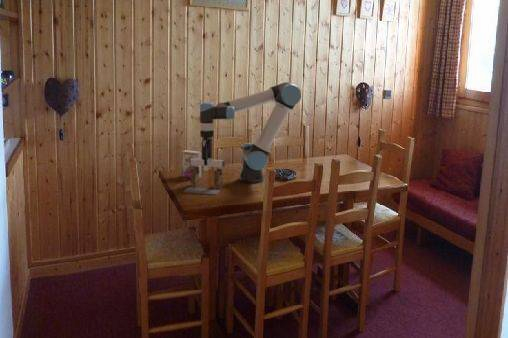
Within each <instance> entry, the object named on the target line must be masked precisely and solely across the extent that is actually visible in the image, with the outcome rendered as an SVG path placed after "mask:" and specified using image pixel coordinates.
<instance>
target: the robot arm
mask: <svg viewBox="0 0 508 338" xmlns="http://www.w3.org/2000/svg"><path fill="white" fill-rule="evenodd" d="M301 99H302V91H301V89H300V87H299V86H297V85H296V84H294V83H291V82H286V81H285V82H282V83H279V84H276V85H273V86H270V87H269V88H268V89H266V90H263V91H259V92H256V93H253V94H250V95H246V96H242V97H238V98H235V99H232V100H229V101H225V102H219V103H217V104H216V106H215V105H214V103H213V102H206V101H205V102H201V103H200V104H199V121H200V123H199V128H200V131H199V132H200V133H199V135H200V137H201V138H203V139H202V142H201V159H202V160H204V166H203V171H204V172H209V170H211V169H212V167H209V160H208V159H213V139H212V138H213V137H214V120H228V121H229V120H233V119H235V115H236V114H235V113H239V112H242V111H245V110H249V109H252V108H255V107H259V106H263V105H266V104H269V103H270V104H271V103H274V104H275V105H274V107H273V108H272V111H271V113H270V115H269V117H268V118H267V120H266V123H265V125H264V126H263V129H262V130H261V132H260V134H259V135H258V138H257V140H256V141H255V142H246V143H244V144H242V168H241V170H240V173H239V177H238V178H239V181H241V182H244V183H252V184H253V183H262V182H263V181H264V180H265V178H264V177H265V176H264V173H263V169H265V167H266V166H267V165H268V158H269V156H270V154H271V153H272V152H271V146H272V144H273V143H274V141H275V139H276V137H277V135H278V133H279V131H280V129H281V127H282V125H283V124H284V121H285V120H286V117H287V116H288V114H289V112H291V111H293V109H294V108H295V106H296V105H297V104H298V103H299V102H300V101H301ZM261 181H262V182H261Z"/></svg>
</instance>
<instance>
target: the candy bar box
mask: <svg viewBox="0 0 508 338" xmlns="http://www.w3.org/2000/svg"><path fill="white" fill-rule="evenodd" d="M191 158H198V159H202V151H197V150H196V151H194V150H188V149H185V150H182V151H181V177H183V178H189V179H191V169H194V166H193V165H190V159H191ZM197 167H199V179H201V178H202V166H197Z"/></svg>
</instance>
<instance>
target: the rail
mask: <svg viewBox="0 0 508 338" xmlns="http://www.w3.org/2000/svg"><path fill="white" fill-rule="evenodd" d="M208 160H209V167H211V168H224V167H225V166H226V162H225V161H226V160H224V159H213V158H211V159H208ZM190 165H193V166H201V167H204V160H202V158H201V159H198V158H191V159H190Z"/></svg>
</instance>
